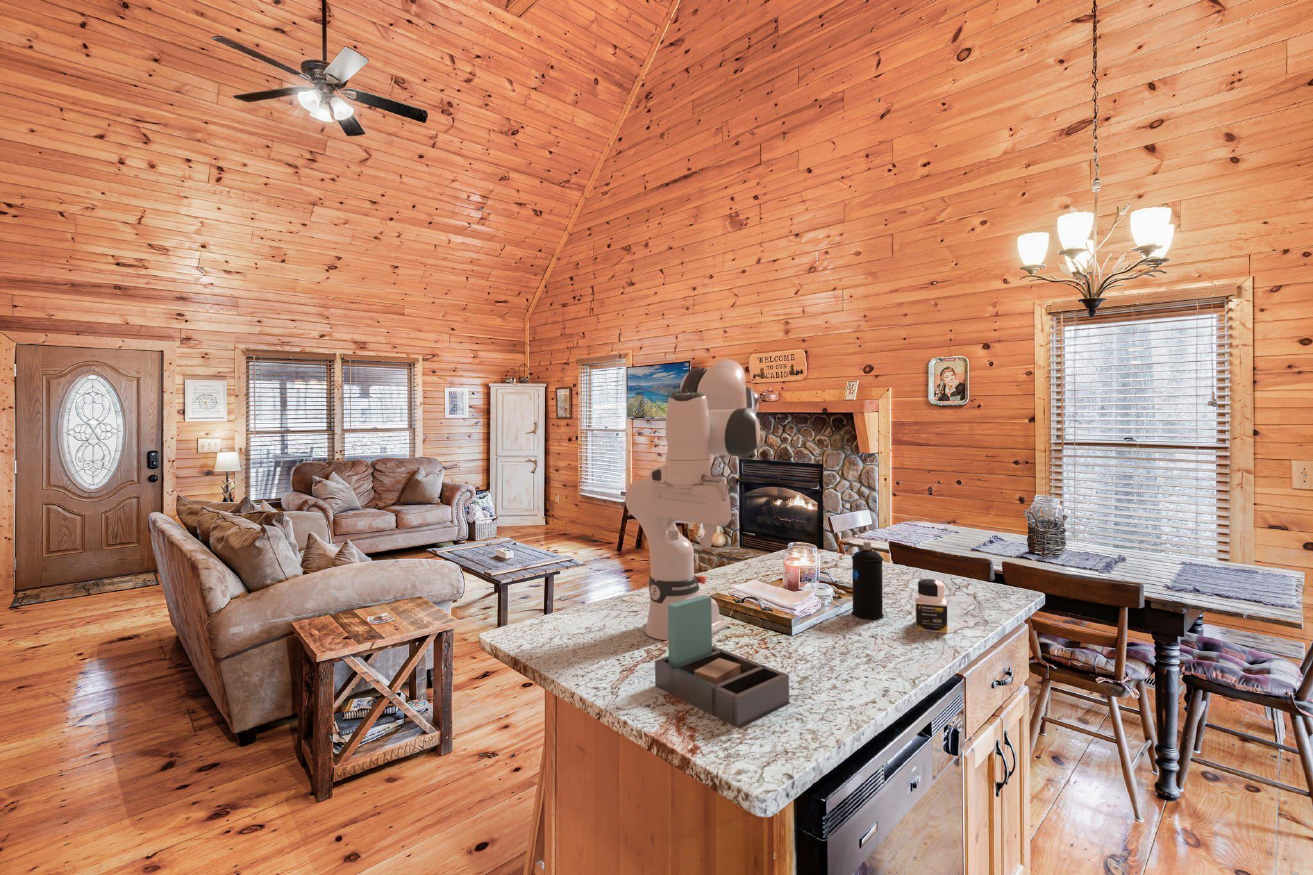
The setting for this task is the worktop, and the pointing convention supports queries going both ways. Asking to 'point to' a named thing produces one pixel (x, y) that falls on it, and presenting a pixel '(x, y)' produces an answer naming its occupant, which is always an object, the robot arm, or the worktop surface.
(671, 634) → the teal panel
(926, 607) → the medicine bottle
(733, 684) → the rack
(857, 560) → the aerosol can
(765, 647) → the worktop surface
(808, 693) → the worktop surface
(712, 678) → the walnut offcut
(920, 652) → the worktop surface
